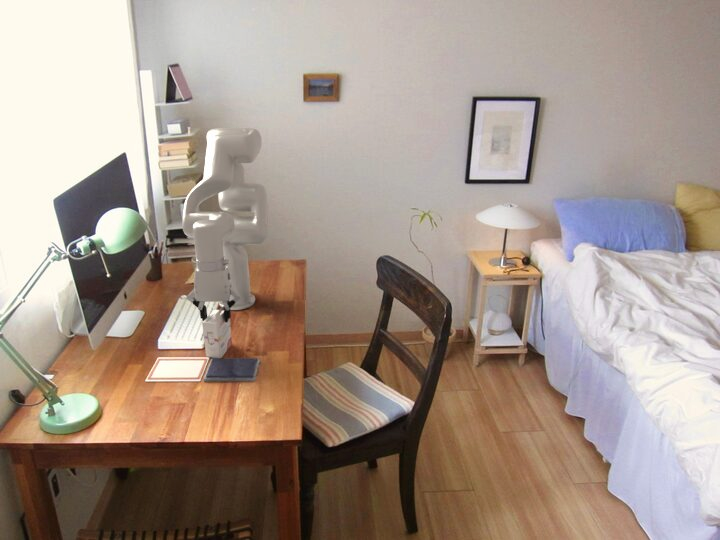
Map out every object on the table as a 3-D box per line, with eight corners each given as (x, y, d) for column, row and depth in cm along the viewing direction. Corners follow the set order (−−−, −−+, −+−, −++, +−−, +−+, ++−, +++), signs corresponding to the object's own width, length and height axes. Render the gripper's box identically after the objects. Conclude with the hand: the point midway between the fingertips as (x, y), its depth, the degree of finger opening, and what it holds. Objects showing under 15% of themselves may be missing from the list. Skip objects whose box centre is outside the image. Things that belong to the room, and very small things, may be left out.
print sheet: (158, 358, 166) (157, 357, 166) (209, 357, 166) (209, 356, 166) (144, 381, 155) (144, 380, 155) (200, 381, 155) (200, 380, 155)
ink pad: (211, 361, 164) (211, 357, 164) (259, 361, 165) (259, 357, 164) (203, 381, 155) (203, 376, 155) (255, 381, 156) (254, 376, 155)
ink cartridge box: (217, 342, 174) (213, 299, 168) (232, 344, 173) (229, 301, 168) (205, 357, 167) (200, 313, 161) (220, 359, 166) (216, 314, 160)
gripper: (243, 258, 162) (247, 314, 170) (183, 258, 162) (189, 314, 169) (239, 268, 155) (243, 326, 163) (175, 268, 155) (183, 326, 162)
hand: (216, 319), depth 166 cm, fingers closed on ink cartridge box, 5 cm apart
